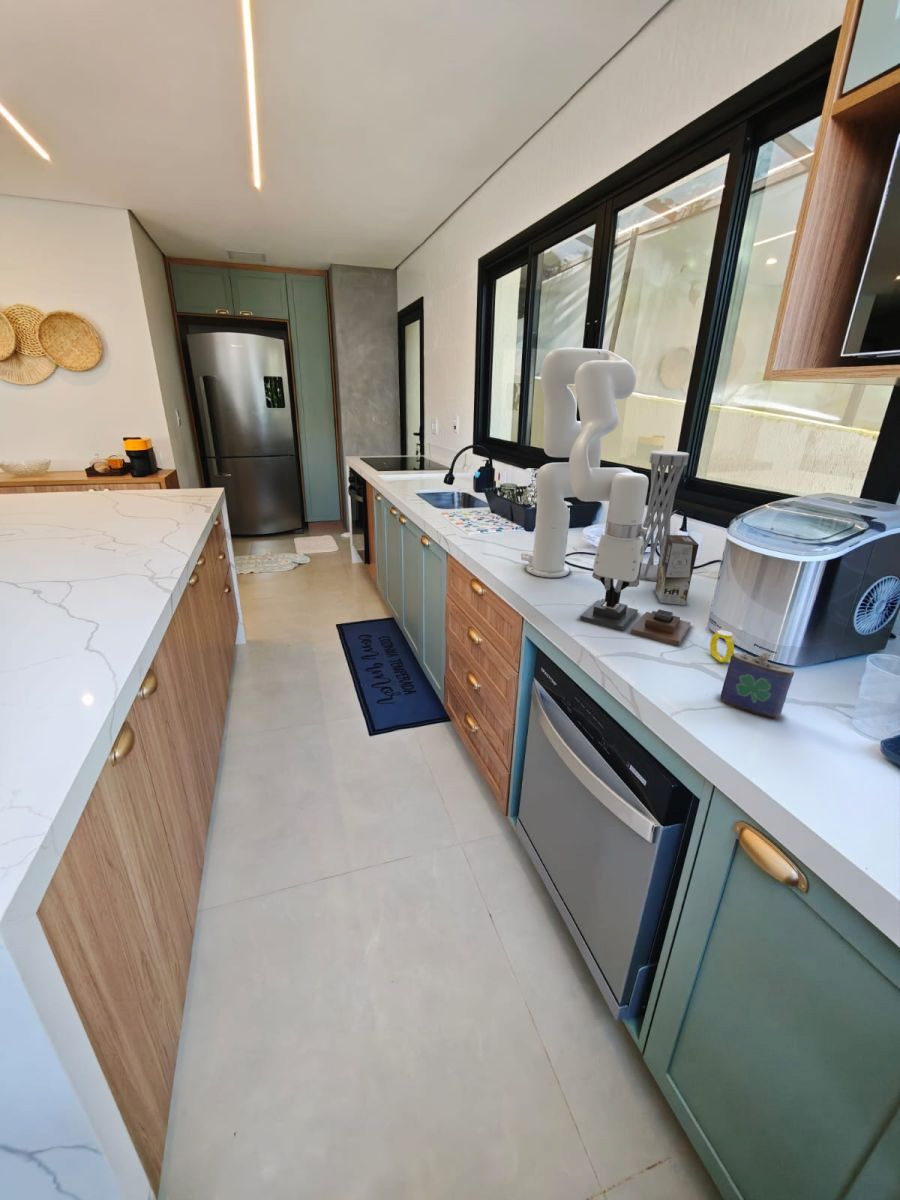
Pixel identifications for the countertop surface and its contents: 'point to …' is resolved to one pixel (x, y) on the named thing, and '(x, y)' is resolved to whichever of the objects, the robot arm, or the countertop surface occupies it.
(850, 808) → the countertop surface
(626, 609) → the black key block
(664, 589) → the coffee box
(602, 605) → the ivory key
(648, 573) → the grey lattice tower
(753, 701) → the flask
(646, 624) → the walnut key block
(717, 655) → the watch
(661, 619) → the dark key
